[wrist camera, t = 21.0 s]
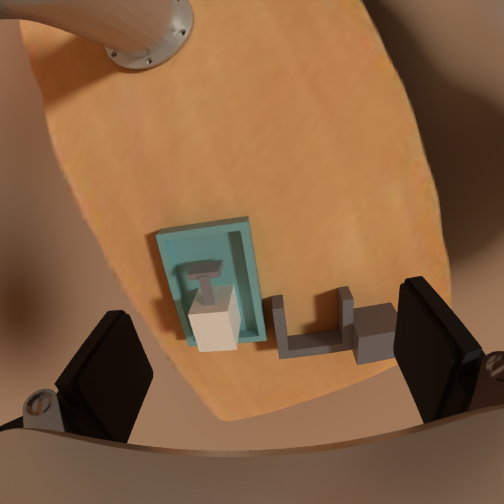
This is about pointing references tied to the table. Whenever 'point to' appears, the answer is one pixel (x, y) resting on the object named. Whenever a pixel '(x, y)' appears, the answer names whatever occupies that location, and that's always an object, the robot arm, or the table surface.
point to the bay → (342, 332)
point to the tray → (234, 272)
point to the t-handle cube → (213, 309)
